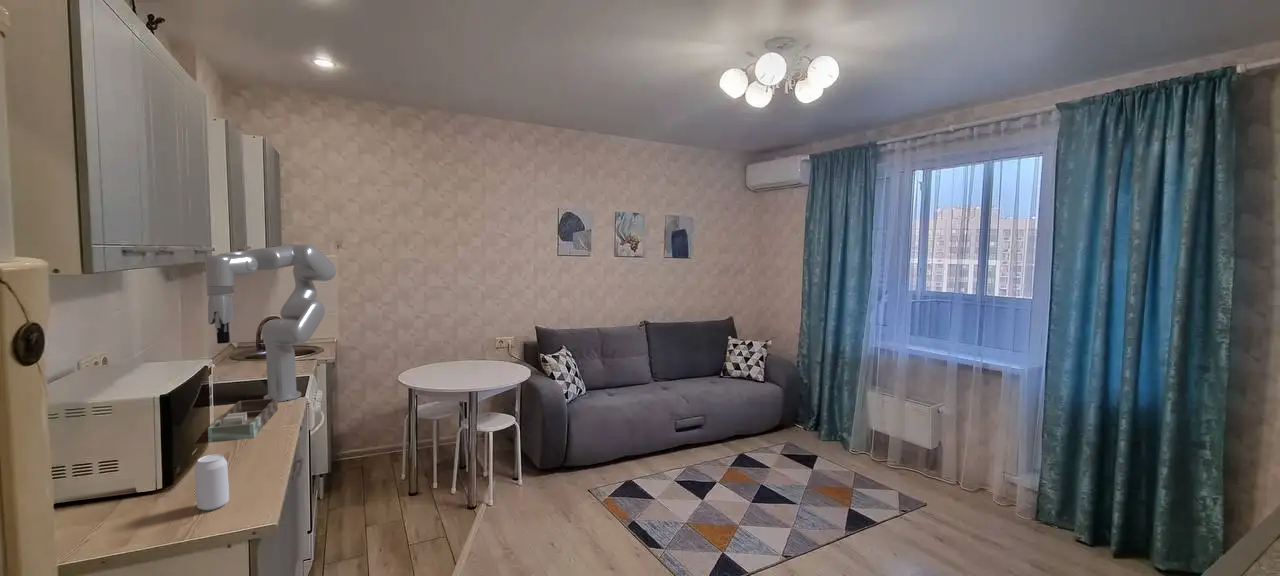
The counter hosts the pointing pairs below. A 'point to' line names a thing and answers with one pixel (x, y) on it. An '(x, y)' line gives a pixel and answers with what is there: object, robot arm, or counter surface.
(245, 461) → the counter surface
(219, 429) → the box
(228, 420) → the block
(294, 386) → the robot arm
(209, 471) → the beverage can
